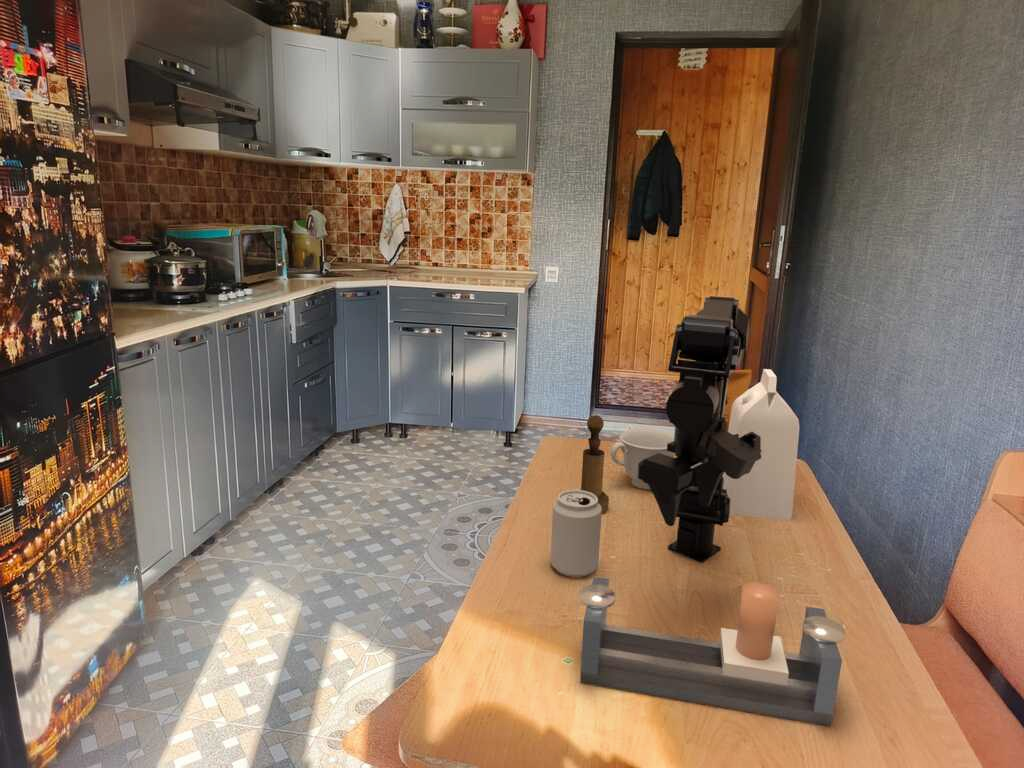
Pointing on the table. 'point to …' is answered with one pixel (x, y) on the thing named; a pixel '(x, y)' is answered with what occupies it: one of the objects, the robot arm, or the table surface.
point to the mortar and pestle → (594, 463)
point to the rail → (708, 665)
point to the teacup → (640, 449)
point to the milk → (765, 453)
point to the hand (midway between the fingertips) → (687, 515)
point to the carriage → (755, 638)
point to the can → (575, 533)
